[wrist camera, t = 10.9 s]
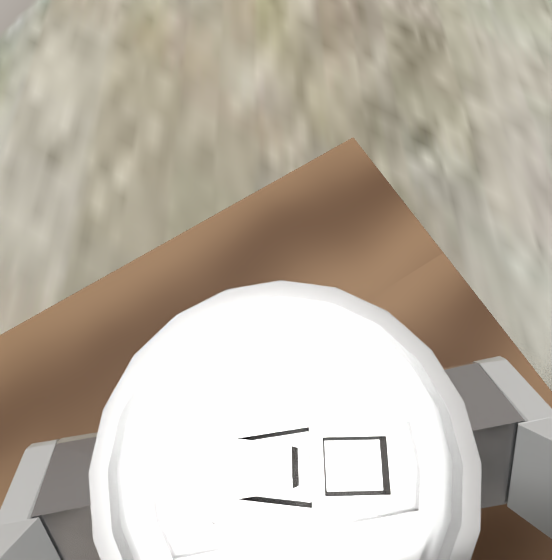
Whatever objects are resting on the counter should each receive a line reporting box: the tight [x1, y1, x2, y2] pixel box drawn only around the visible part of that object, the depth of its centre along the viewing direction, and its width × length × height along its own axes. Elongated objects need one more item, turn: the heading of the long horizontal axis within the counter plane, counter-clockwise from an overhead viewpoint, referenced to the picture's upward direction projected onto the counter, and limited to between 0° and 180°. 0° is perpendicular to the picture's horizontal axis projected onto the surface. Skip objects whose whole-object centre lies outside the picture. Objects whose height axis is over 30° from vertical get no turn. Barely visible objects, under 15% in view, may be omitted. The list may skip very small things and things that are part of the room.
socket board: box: [0, 138, 552, 560], centre depth 21 cm, size 20×20×5 cm
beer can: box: [89, 280, 481, 560], centre depth 12 cm, size 5×5×12 cm
